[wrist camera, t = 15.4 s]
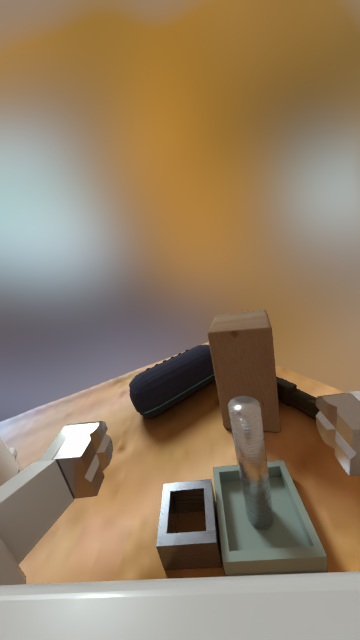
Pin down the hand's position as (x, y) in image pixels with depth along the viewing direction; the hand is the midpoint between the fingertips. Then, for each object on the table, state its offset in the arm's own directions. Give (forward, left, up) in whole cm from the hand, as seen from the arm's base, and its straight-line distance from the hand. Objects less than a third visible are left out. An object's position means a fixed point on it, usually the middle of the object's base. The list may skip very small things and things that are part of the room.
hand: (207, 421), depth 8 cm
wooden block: (+7, +30, -26) cm, 40 cm away
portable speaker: (-8, +39, -26) cm, 48 cm away
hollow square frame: (-5, +11, -26) cm, 29 cm away
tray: (+3, +12, -26) cm, 29 cm away
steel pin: (+3, +12, -25) cm, 28 cm away
